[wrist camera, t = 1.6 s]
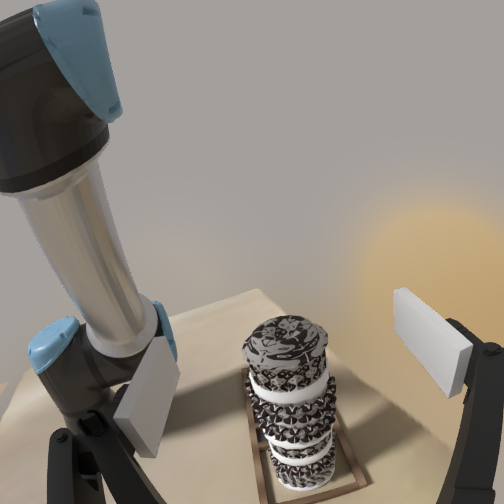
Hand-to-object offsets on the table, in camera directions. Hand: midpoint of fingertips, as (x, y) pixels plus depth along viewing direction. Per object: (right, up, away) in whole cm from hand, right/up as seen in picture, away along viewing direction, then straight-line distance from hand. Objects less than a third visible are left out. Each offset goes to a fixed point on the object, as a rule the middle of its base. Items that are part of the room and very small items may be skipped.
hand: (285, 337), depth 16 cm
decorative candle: (+6, -26, +17) cm, 32 cm away
